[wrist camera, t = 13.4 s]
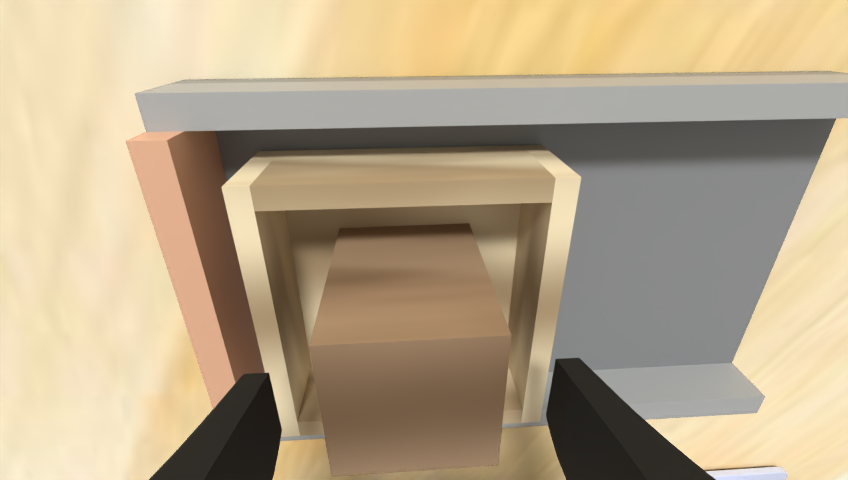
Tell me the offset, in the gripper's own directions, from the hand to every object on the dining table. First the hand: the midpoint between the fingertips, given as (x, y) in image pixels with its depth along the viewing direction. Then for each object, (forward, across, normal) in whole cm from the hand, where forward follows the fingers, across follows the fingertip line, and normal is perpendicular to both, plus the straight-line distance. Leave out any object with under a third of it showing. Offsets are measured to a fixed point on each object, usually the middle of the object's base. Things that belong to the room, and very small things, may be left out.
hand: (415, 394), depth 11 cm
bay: (+7, -4, 0) cm, 8 cm away
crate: (+6, 0, 0) cm, 6 cm away
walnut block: (+6, 0, 0) cm, 6 cm away
